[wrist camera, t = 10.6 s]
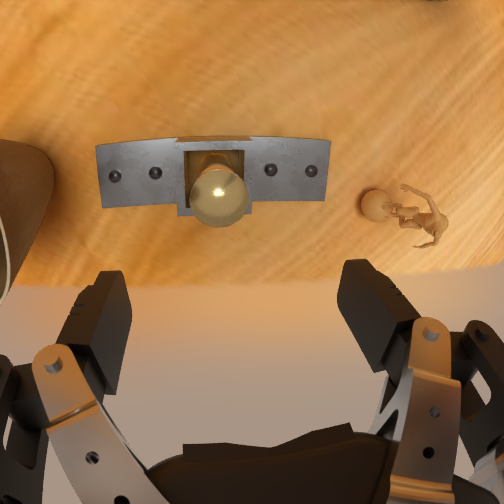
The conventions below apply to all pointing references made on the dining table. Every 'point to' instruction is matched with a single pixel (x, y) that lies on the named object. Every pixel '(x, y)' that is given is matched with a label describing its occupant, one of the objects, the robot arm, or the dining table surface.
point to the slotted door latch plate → (175, 149)
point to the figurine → (405, 213)
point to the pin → (218, 192)
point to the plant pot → (21, 205)
